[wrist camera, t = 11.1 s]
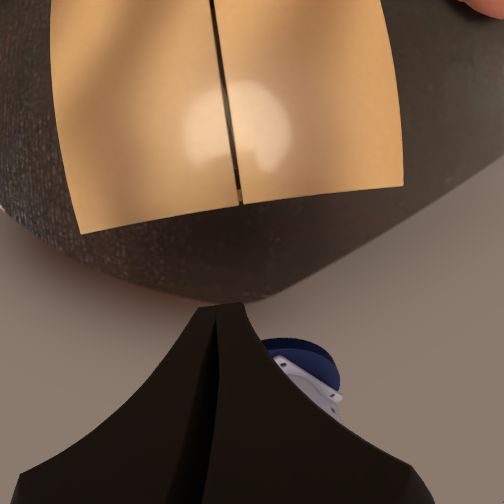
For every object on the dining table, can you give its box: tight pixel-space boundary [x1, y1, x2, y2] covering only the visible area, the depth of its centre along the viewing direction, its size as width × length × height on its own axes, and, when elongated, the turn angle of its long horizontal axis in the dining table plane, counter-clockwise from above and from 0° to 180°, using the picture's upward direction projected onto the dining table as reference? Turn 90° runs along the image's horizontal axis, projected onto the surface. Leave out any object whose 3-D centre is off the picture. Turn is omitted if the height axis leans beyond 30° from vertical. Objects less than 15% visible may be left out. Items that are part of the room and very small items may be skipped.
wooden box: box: [50, 0, 243, 234], centre depth 12 cm, size 13×11×7 cm
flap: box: [214, 0, 403, 204], centre depth 9 cm, size 6×11×1 cm, turn 8°
